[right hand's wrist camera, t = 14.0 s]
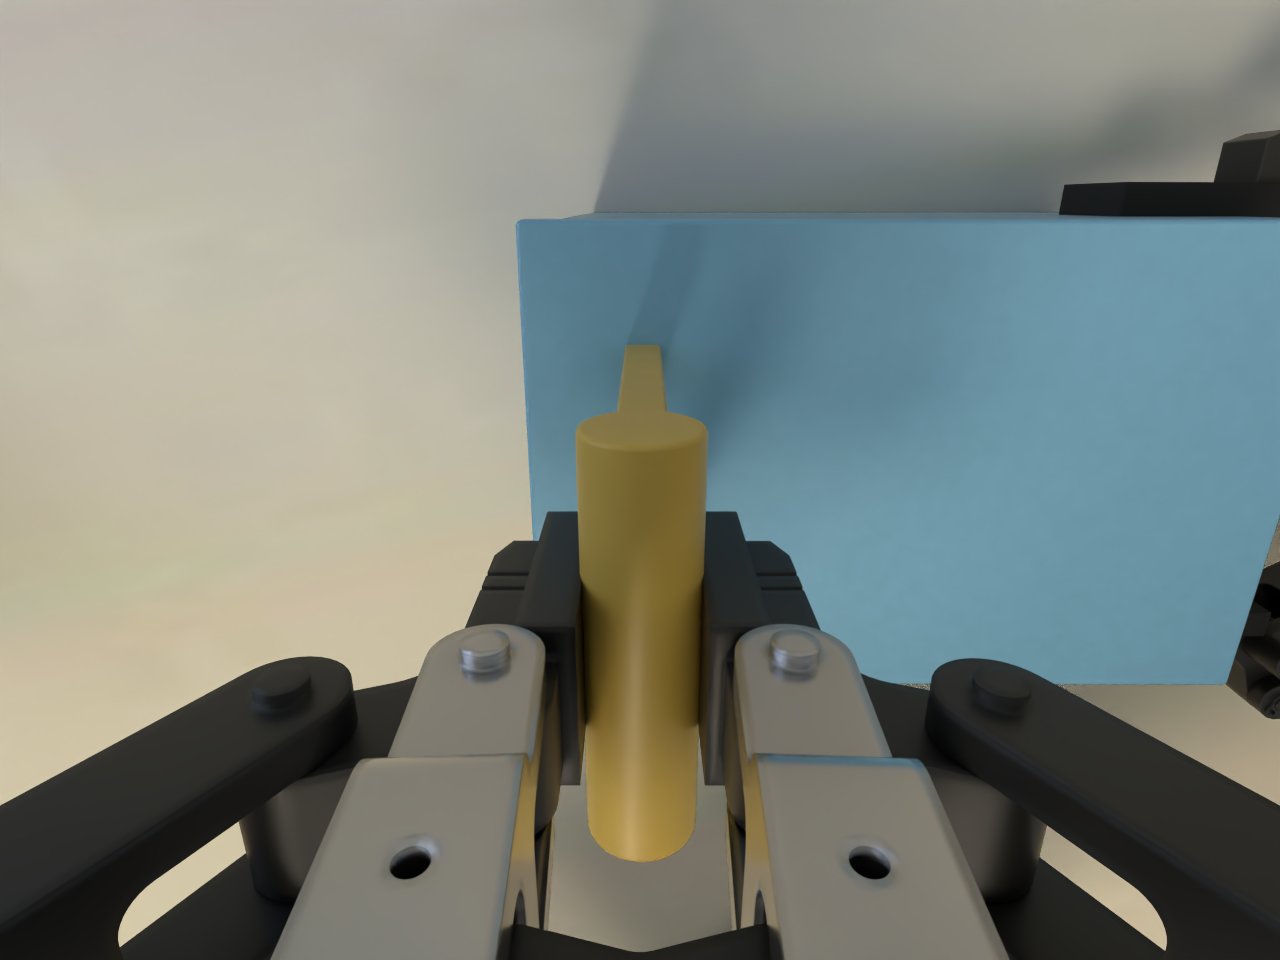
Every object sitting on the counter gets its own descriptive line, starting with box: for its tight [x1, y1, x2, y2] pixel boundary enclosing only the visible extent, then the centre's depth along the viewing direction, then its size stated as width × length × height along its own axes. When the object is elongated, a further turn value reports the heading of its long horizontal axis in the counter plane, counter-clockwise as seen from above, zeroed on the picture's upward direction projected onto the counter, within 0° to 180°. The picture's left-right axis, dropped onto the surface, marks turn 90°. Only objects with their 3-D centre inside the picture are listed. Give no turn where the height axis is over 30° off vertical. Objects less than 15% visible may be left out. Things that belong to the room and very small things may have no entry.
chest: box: [564, 212, 1280, 219], centre depth 22 cm, size 16×10×11 cm
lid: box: [516, 219, 1280, 862], centre depth 13 cm, size 16×10×8 cm, turn 90°
